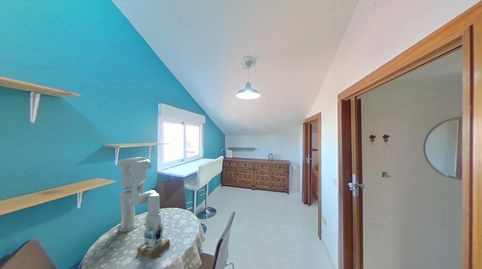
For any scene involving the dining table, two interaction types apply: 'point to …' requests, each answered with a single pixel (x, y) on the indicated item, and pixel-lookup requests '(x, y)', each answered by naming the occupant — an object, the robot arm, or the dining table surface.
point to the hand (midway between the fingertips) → (153, 237)
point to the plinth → (154, 249)
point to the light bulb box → (151, 237)
